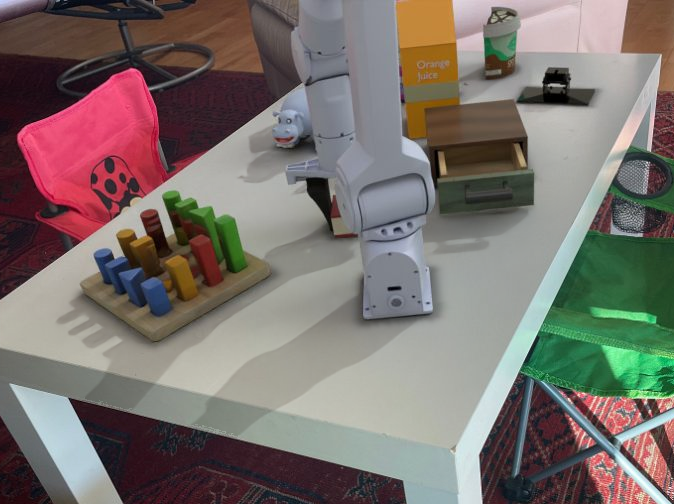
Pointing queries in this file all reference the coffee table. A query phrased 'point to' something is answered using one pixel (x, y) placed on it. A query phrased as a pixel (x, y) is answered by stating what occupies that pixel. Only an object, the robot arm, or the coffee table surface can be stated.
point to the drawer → (483, 178)
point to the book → (339, 222)
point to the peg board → (173, 269)
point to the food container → (500, 42)
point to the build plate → (556, 90)
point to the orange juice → (427, 59)
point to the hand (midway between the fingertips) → (351, 225)
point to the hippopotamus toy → (293, 120)
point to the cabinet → (473, 128)
